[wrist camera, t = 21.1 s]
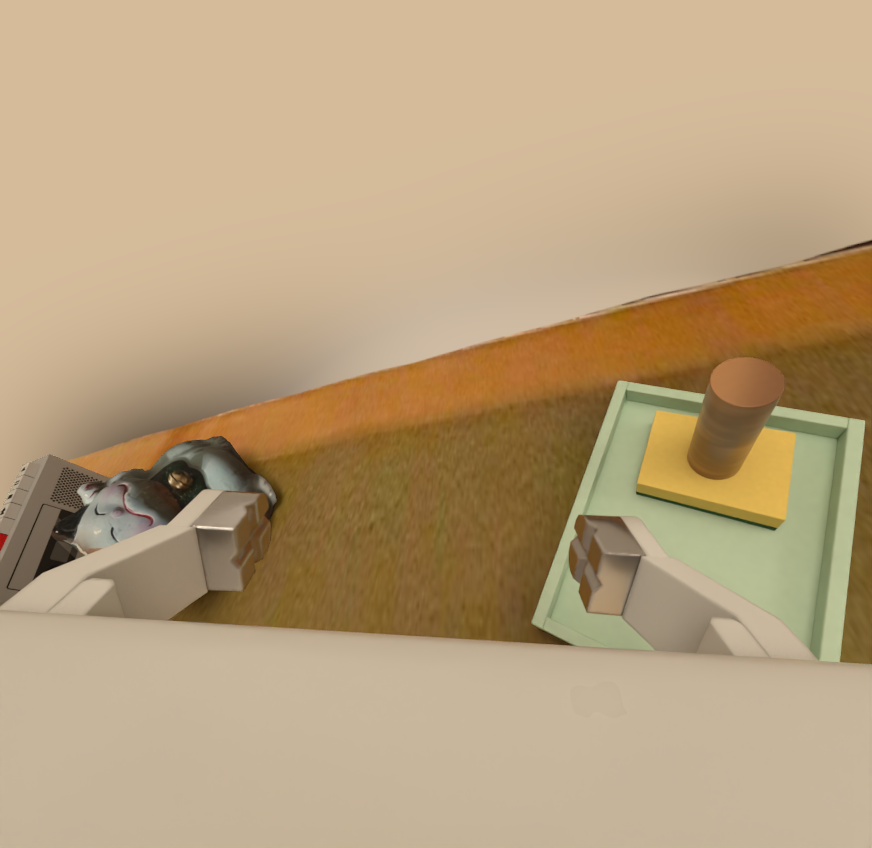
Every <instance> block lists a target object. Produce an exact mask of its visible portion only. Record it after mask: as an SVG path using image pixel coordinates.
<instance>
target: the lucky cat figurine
mask: <svg viewBox="0 0 872 848" xmlns="http://www.w3.org/2000/svg"><path fill="white" fill-rule="evenodd" d="M206 489H214V490H225V491H227V490H228V491H239V492H251V493H263V494H265V495H266V496H267V498H268V505H269V509H268V510H267V512H266V513H265V515H264V516H265V517H266V518H267V519H268V520H270V518H271V516H272V512H273V505H274V504H275V503H276V502H277V500H276V495H275V493H274V491H273V489H272V487H271V485H270V484H269V482H268V481H267V480H265V479H264V478H263V477H262V476H260V475H258V474H256V473H255V472H253V471H252V470H251V469H250V468H249V467H248V466H247V465H246V464H245V462H244V461H243V460H242V458H241V457H240V456H239V455H238V453H237V452H236V451H235V449H234V448H233V446H232V445H231V444H230V442H228V441H227V440H226V439H225V438H224V437H222V436H219V437H212V438H209V439H208V440H192V441H186V442H182V443H179V444H177V445H175V446H173V447H172V448H170V449H169V450H167V451H166V452H165V453H164V454H163V455H162V456H161V457H160V459H159V460H158V461H157V462H156V463H155V465H154V466H153V467H152V468H151V469H150V470H147V471H144V470H143V469H131V470H130V471H124V472H121V473H119V474H117V475H115V476H113V477H112V478H110V479H109V480H107V481H106V482H103V483H102V482H87V483H85V484H83V485H82V486H80V487H79V489H78V490H77V493H78V494H79V495H80V496H81V498H82V501H83V504H84V507H82V508H80V509H79V510H78V511H77V512H75V513H74V514H72V515H70V516H68V517H66V518H64V519H63V520H61V521H60V522H58V523H57V525H55V526H54V528H53V529H52V535H53V537H54V538H59V539H62V540H63V541H65V542H66V543H67V544H69V545H70V546H72V547H74V548H75V549H77V550H78V551H79V552H81V553H83V554H84V555H88V554H90V553H93V552H95V551H98V550H100V549H103V548H105V547H108V546H110V545H112V544H115V543H117V542H120V541H122V540H125V539H127V538H130V537H132V536H135V535H137V534H139V533H142V532H144V531H147V530H149V529H152V528H154V527H157V526H159V525H167V524H169V523H170V522H171V521H172V520H173V519H174V518H175V517H176V516H177V515H178V514H179V513H180V512H181V511H182V510H183V509H184V508H185V507H186V506H187V505H188V504H189V503H190V502H191V501H192V500H193V499H194V498H195V497H196V496H197V495H198V494H199V493H200V492H201V491H203V490H206Z"/></svg>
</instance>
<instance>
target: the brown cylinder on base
mask: <svg viewBox="0 0 872 848" xmlns="http://www.w3.org/2000/svg"><path fill="white" fill-rule="evenodd" d="M784 389H785V379H784V377H783V375H782V373H781V372H780V370H779V369H778V368H777V367H775V366H774V365H772V364H771V363H769V362H767V361H764V360H761V359H757V358H752V357H739V358H733V359H730V360H727V361H725V362H723V363H721V364H719V365H718V366H717V367H716V368H715V369H714V370H713V371H712V373H711V376H710V379H709V382H708V386H707V389H706V393H705V396H704V399H703V403H702V406H701V409H700V413H699V416H698V417H694V416H688V415H682V414H676V413H670V412H664V411H658V410H657V411H656V413H655V417H654V420H653V424H652V428H651V432H650V435H649V439H648V443H647V447H646V450H645V454H644V458H643V462H642V465H641V469H640V473H639V477H638V480H637V488H636V494H637V495H641V496H645V497H649V498H653V499H656V500H660V501H664V502H668V503H672V504H675V505H679V506H683V507H687V508H691V509H694V510H698V511H702V512H706V513H710V514H713V515H717V516H721V517H725V518H729V519H733V520H736V521H740V522H744V523H748V524H752V525H755V526H759V527H763V528H767V529H771V530H776V529H777V528H778V527H779V526H780V525H781V524H782V523H783V522H784V521H785V520H786V514H787V506H788V497H789V489H790V481H791V472H792V464H793V456H794V448H795V439H796V433H792V432H786V431H780V430H773V429H767V428H763V427H764V426H765V424H766V422H767V420H768V419H769V417H770V415H771V413H772V411H773V410H774V408H775V406H776V404H777V403H778V401H779V399H780V397H781V395H782V394H783V392H784Z"/></svg>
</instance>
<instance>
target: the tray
mask: <svg viewBox="0 0 872 848" xmlns="http://www.w3.org/2000/svg"><path fill="white" fill-rule="evenodd" d="M704 396H705V394H698V393H692V392H686V391H680V390H674V389H668V388H662V387H656V386H649V385H643V384H637V383H631V382H629V383H628V382H625V381H618V382H617V385H616V388H615V391H614V393H613V396H612V399H611V402H610V404H609V407H608V410H607V413H606V416H605V418H604V421H603V424H602V427H601V430H600V432H599V435H598V438H597V441H596V443H595V446H594V449H593V452H592V455H591V457H590V460H589V463H588V466H587V468H586V471H585V474H584V477H583V480H582V482H581V485H580V488H579V491H578V493H577V496H576V499H575V502H574V505H573V507H572V510H571V513H570V516H569V518H568V521H567V524H566V527H565V530H564V532H563V535H562V538H561V541H560V543H559V546H558V549H557V552H556V555H555V557H554V560H553V563H552V566H551V568H550V571H549V574H548V577H547V580H546V582H545V585H544V588H543V591H542V593H541V596H540V599H539V602H538V605H537V607H536V610H535V613H534V616H533V618H532V621H531V623H532V624H533V625H534V626H536V627H537V628H539V629H541V630H543V631H545V632H547V633H549V634H551V635H553V636H555V637H557V638H559V639H561V640H563V641H565V642H567V643H569V644H571V645H573V646H586V647H602V648H618V649H634V650H651V651H656V650H655V649H654V648H653V647H652V646H651V645H650V644H649V643H648V642H646V641H645V640H644V639H643V638H642V637H641V636H640V635H639V634H638V633H637V632H636V631H635V630H634V629H633V628H632V627H631V626H630V625H629V624H628V623H627V622H626V621H625V620H624V619H623V618H622V616H615V615H604V614H593V613H587V612H586V609H585V607H584V605H583V602H582V600H581V597H580V595H579V592H578V591H579V587H580V584H579V583H578V582H577V581H576V580H574V579H573V577H572V574H571V572H570V567H569V547H570V542H571V541H572V540H573V539H574V538H575V537H577V536H578V535H577V533H576V531H575V529H574V525H575V521H576V519H577V517H578V515H598V516H631V517H638V518H640V519H641V520H642V521H643V523H644V524H645V525H646V527H647V528H648V529H649V531H650V532H651V533H652V535H653V536H654V537H655V539H656V540H657V541H658V543H659V544H660V545H661V547H662V548H663V549H664V551H665V552H666V553H667V555H668V556H669V557H670V558H677V559H678V560H680V561H682V562H683V563H685V564H687V565H689V566H690V567H692V568H694V569H695V570H697V571H699V572H700V573H702V574H704V575H706V576H707V577H709V578H711V579H712V580H714V581H716V582H718V583H719V584H721V585H723V586H724V587H726V588H728V589H730V590H731V591H733V592H735V593H736V594H738V595H740V596H742V597H743V598H745V599H747V600H748V601H750V602H752V603H753V604H755V605H757V606H759V607H760V608H762V609H764V610H765V611H767V612H769V613H771V614H772V615H774V616H776V617H777V618H779V619H781V620H782V621H783V622H784V623H785V624H786V625H787V626H788V627H789V628H790V629H791V631H792V632H793V633H794V634H795V635H796V636H797V637H798V638H799V639H800V640H801V641H802V643H803V644H804V645H805V646H806V647H807V648H808V649H809V650H810V651H811V652H812V653H813V654H814V656H815V657H816V658H817V659H818V660H819V661H828V662H840V655H841V645H842V636H843V627H844V617H845V608H846V599H847V589H848V580H849V571H850V561H851V552H852V543H853V533H854V524H855V515H856V505H857V496H858V487H859V477H860V468H861V459H862V449H863V440H864V430H865V421H864V420H857V419H851V418H849V419H848V418H845V417H839V416H833V415H827V414H821V413H815V412H809V411H802V410H796V409H790V408H784V407H778V406H775V408H774V410H773V411H772V413H771V415H770V417H769V419H768V420H767V422H766V424H765V426H764V427H763V428H767V429H773V430H780V431H786V432H792V433H796V439H795V448H794V456H793V464H792V472H791V481H790V489H789V497H788V506H787V514H786V520H785V521H784V522H783V523H782V524H781V525H780V526H779V527H778V528H777V529H776V530H771V529H767V528H763V527H759V526H755V525H752V524H748V523H744V522H740V521H736V520H733V519H729V518H725V517H721V516H717V515H713V514H710V513H706V512H702V511H698V510H694V509H691V508H687V507H683V506H679V505H675V504H672V503H668V502H664V501H660V500H656V499H653V498H649V497H645V496H641V495H637V494H636V488H637V480H638V477H639V473H640V469H641V465H642V462H643V458H644V454H645V450H646V447H647V443H648V439H649V435H650V432H651V428H652V424H653V420H654V417H655V413H656V411H657V410H658V411H664V412H670V413H676V414H682V415H688V416H694V417H698V416H699V413H700V409H701V406H702V403H703V399H704Z"/></svg>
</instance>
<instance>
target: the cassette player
mask: <svg viewBox="0 0 872 848" xmlns="http://www.w3.org/2000/svg"><path fill="white" fill-rule="evenodd" d="M109 479H110V478H108V477H105V476H103V475H100V474H98V473H95V472H93V471H90V470H88V469H85V468H83V467H80V466H78V465H75V464H73V463H70V462H68V461H65V460H63V459H60V458H58V457H55V456H53V455H50V454H49V455H47V456H45V457H42V458H40V459H37V460H35V461H33V462H28V463H26V464H24V465H22V467H21V470H20V472H19V474H18V476H17V478H16V480H15V482H14V484H13V486H12V488H11V490H10V492H9V494H8V496H7V498H6V500H5V502H4V504H3V506H2V508H1V510H0V606H2V605H3V604H4V603H5V602H7V601H8V600H9V599H10V598H12V597H13V596H14V595H15V594H17V593H18V592H19V591H20V590H22V589H23V588H24V587H25V586H27V585H28V584H29V583H31V582H32V581H33V580H34V579H36V578H37V577H38V576H39V575H41V574H42V573H44V572H46V571H49V570H51V569H54V568H56V567H58V566H61V565H63V564H66V563H68V562H71V561H73V560H76V559H78V558H81V557H83V556H85V555H84V554H83V553H81V552H79V551H78V550H77V549H75V548H74V547H72V546H70V545H69V544H67V543H66V542H65V541H63V540H62V539H59V538H54V537H53V535H52V529H53V528H54V526H55V525H57V523H58V522H60V521H61V520H63V519H64V518H66V517H68V516H70V515H72V514H74V513H75V512H77V511H78V510H79V509H80V508H82V507H84V504H83V501H82V498H81V496H80V495H79V494H78V493H77V490H78V489H79V487H80V486H82V485H83V484H85V483H87V482H102V483H103V482H106V481H107V480H109Z"/></svg>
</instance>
